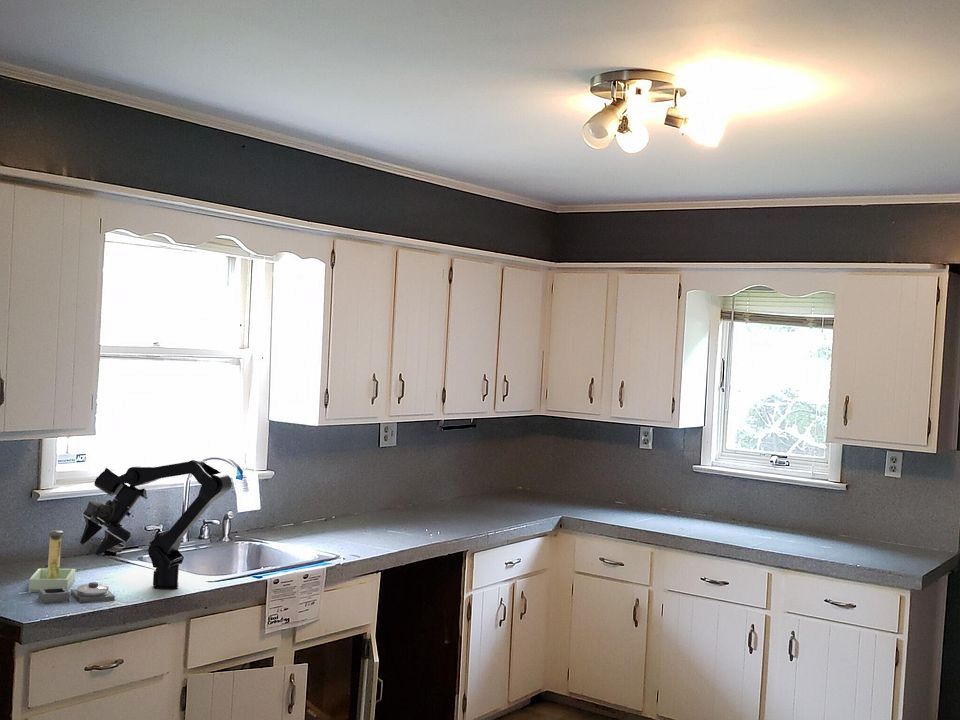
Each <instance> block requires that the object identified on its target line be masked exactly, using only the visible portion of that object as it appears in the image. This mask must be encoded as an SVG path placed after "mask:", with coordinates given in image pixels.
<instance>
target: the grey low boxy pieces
mask: <svg viewBox="0 0 960 720" xmlns="http://www.w3.org/2000/svg"><path fill="white" fill-rule="evenodd" d="M37 593H38V595H37V596H38V597H37V598H38V600H39V601H40V603H42V604H43V605H47V604H60V603H70V596H72V597H73V598H74V599H75V600H76V601H77V602H78V603H79V604H85V603H97V602H99V603H100V602H109V601H110V602H111V601H115V597H116V596H115V595H114V594H113V593H112V592H111V591H110V590H109V585H108V584H103V583H98V582H94V581H93V582H88V583H86V584H85V583H84V584H80V585H78V586H77V587H76V589H73V588H72V589H71V590H70V591H69V590H67V589H66V588H65V587H61V588H46V589H39V592H37Z"/></svg>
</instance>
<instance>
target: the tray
mask: <svg viewBox="0 0 960 720" xmlns="http://www.w3.org/2000/svg"><path fill="white" fill-rule="evenodd" d="M47 573H48V568H37V570H36V571H35V572H34V573H33V574H32V575H31V577H30V578H29V579H28V590H27V591H28V593H39V589H46V588H61V587H65V588H66V589H67V590H68V591H69V590H70V588H71V587H72V586H73V584H74V583H75V580H76V568H59V579H47Z"/></svg>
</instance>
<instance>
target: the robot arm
mask: <svg viewBox="0 0 960 720" xmlns="http://www.w3.org/2000/svg"><path fill="white" fill-rule="evenodd" d="M190 474H191V475H192V476H193V477H194V478H195V480H196V481H197V483H198V484H200V485H201V486H200V489H199V491H198V494H197V497H196V498H195V499H194V500H193V501H192V503H191V504H190V505H189V506H188V507H187V508H186V510H185V511H184V512H183V514H182V515H180V517H179V518H178V519H177V521H175V523H174V524H173V525H172V526H171V528H170V529H169V530H168V529H167V530H164V531H160V532H157V534H156V535H155V536H154V538H153V540H151V541H150V542H148V543H149V546H148V548H147V553H148V556H149V558H150V560H151V564H152V567H153V568H154V570H153V575H152V586H153V589H154V588H155V589H154V590H156V589H157V590H159V589H161V590H162V589H163V590H165V589H166V590H177V589H178V587H179V570H180V569H179V568H180V565H182V563H183V562H184V559H185V557H184V555H183V554H182V553H181V552H180V550H179V548H180V546H181V544H182V540H183V538H184V537H185V536H186V535H187V533H188V532H189V531H190V529H192V527H193V526H194V525H195V524H196V522H197V521H199V519H200V518H201V516H202V515H203V514H204V513H205V512H206V511H207V509H208V508H209V507H210V506H211V505H212V504H213V503H214V502H215V501H217V500H218V499H220V498H222V496H224V495H225V494H227V492H228V491H230V490H231V488H232V486H233V483H232V479H231V477H230V476H229V474H227V473H225V472H221V471H220V470H219V469H217V468H215V467H213V466H211V465H210V464H208V463H207V462H206V461H204V460H202V459H199V458H197V459H196V458H195V459H192V460H188V461H183V462H177V463H171V464H165V465H153V464H151V465H147V464H146V465H145V464H143V465H142V464H141V465H137V466H136V465H135V466H131V467H128V468H127V470H126V472H125V473H123V474H121V473H119V472H117V471H115V469H113V468H112V467H110V466H109V467H105V468H104V470H103V471H102V472H101V473H100V474H99V475H98V476H97V477H96V478H95V480H94V487H96V488H98V489H99V490H100V491H102V492H104V493H105V494H107V495H108V496H110V497H112V496H114V495H115V496H114V498H113V499H112V500H111V499H108V500H107V501H106V502H105V503H103V502H98V501H93V500H89V501H88V504H87V507H86V508H85V510H84V511H83V512H82V514H83V518H84V521H85V525H84V526H85V528H84V530H83V533H82V535H81V538H80V541H79V544H81V545H84V544H86V543H87V542H89V540H90V539H92V538H93V537H94V536H95V535H96V534H97V533H99V532H100V531H101V530H102V529H103V527H102V526H104V527H106V528H107V530H104V537H103V539H102V541H101V542H100V543H99V545H98V547H97V548H96V550H95V552H94V554H95V555H96V556H100V555H101V554H103V553H105V552H107V551H108V550H110V549H111V548H114V547H116V546H118V545H120V544H124V542H126V543H127V542H129V540H130V539H131V537H132V534H131V532H130V531H129V530H127V529H125V528H124V527H122V526H123V525H122V524H121V523H122V521H123V520H124V519H125V517H126V516H127V517H130V516H131V515H132V513H130V511H131V509H132V508H133V507H134V505H135V504H136V503H137V501H138V500H139V498H140V497H141V498H143V499H145V500H147V499H148V496H147V490H146V489H145V488H141V489H140V488H139V486H143V485H148V484H151V483H153V482H157V480H160V479H166V478H171V477H178V476H185V475H190ZM127 484H128V485H127Z"/></svg>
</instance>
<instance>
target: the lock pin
mask: <svg viewBox="0 0 960 720" xmlns="http://www.w3.org/2000/svg"><path fill="white" fill-rule="evenodd" d="M64 533H65V532H64V530H60V529H55V530H53V529H52V530H48V531H47V537H49V545H48V547H49V548H48V561H47V569H48V573H47V579H59V569H60V564H61V563H60V562H61V548H62V546H61V545H62V537H64Z"/></svg>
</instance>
